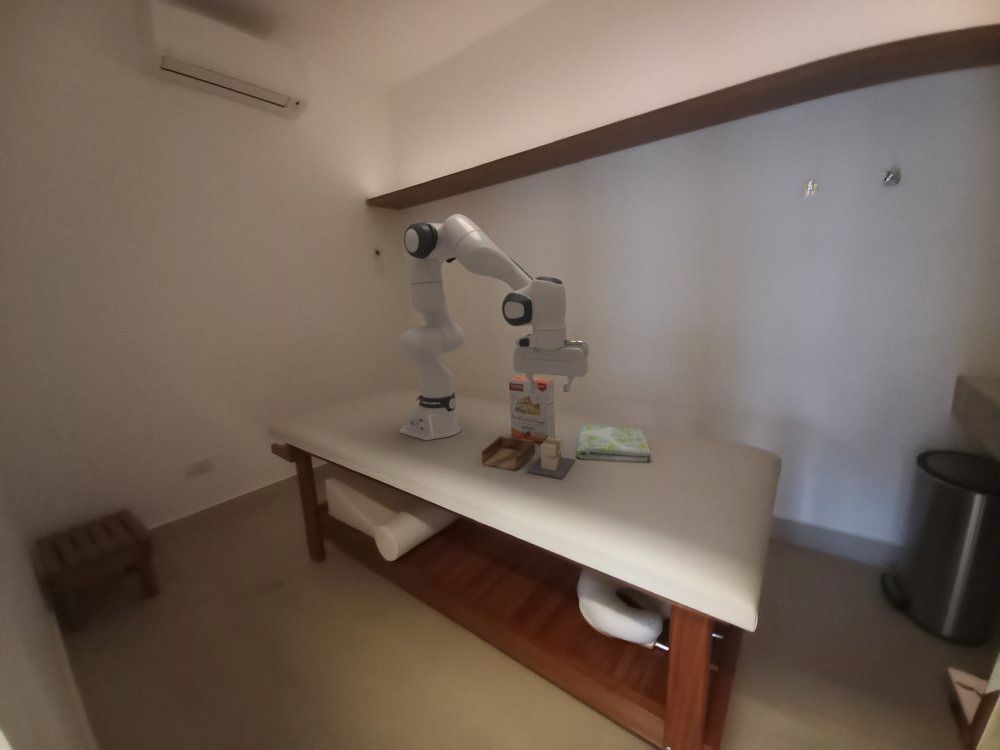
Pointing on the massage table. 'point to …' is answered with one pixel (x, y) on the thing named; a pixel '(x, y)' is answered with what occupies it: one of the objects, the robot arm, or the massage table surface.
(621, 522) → the massage table surface
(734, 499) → the massage table surface
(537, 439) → the cracker box
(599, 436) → the towel
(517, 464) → the shelf bay
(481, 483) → the massage table surface
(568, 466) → the mat
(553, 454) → the block
